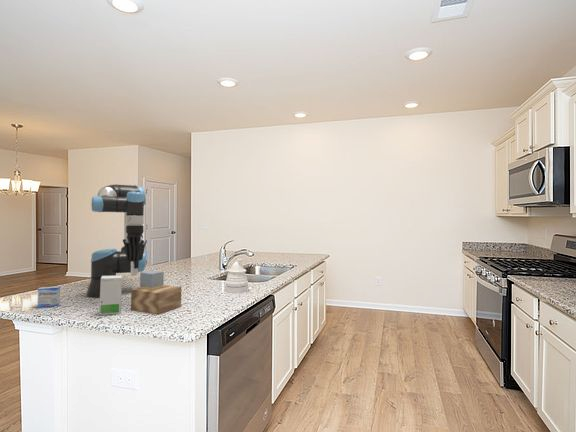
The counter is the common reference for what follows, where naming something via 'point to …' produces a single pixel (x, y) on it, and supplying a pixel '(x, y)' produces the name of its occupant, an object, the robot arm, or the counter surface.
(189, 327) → the counter surface
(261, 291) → the counter surface
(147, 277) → the slate-blue block
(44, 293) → the medicine box
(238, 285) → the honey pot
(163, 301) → the oak plinth
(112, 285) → the skincare box
